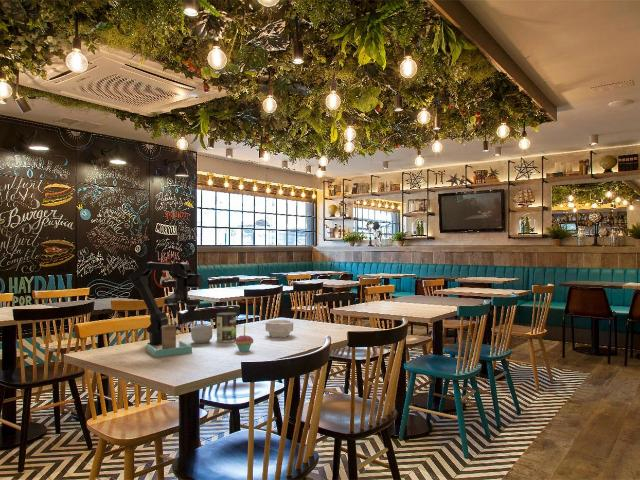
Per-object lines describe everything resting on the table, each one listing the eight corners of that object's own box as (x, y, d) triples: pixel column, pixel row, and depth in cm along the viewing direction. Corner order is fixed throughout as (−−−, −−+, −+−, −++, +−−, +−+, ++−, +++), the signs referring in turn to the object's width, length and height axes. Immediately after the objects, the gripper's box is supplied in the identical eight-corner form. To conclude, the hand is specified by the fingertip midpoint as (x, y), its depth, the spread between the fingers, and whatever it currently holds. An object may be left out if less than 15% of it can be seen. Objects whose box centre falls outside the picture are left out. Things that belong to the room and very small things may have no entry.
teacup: (206, 344, 237) (206, 328, 237) (186, 344, 239) (186, 328, 239) (218, 339, 251) (218, 324, 251) (199, 338, 253) (199, 323, 253)
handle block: (161, 351, 222) (161, 325, 222) (172, 350, 225) (172, 324, 225) (165, 353, 218) (164, 327, 218) (175, 352, 221) (175, 326, 221)
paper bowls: (298, 335, 262) (298, 320, 262) (282, 339, 249) (282, 324, 249) (276, 332, 270) (276, 318, 270) (259, 336, 257) (259, 322, 258)
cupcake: (235, 348, 227) (235, 323, 227) (253, 348, 228) (253, 323, 228) (234, 352, 218) (234, 326, 219) (253, 352, 219) (252, 326, 219)
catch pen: (146, 351, 223) (146, 344, 223) (181, 346, 232) (181, 340, 232) (155, 357, 210) (155, 350, 210) (192, 352, 219) (191, 346, 219)
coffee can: (240, 339, 252) (240, 312, 252) (230, 342, 242) (230, 315, 242) (223, 338, 255) (222, 311, 255) (212, 341, 245) (212, 314, 245)
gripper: (155, 288, 234) (155, 319, 234) (185, 289, 226) (185, 322, 226) (172, 286, 244) (172, 316, 244) (200, 287, 236) (200, 319, 236)
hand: (181, 318), depth 237 cm, fingers open, 9 cm apart
